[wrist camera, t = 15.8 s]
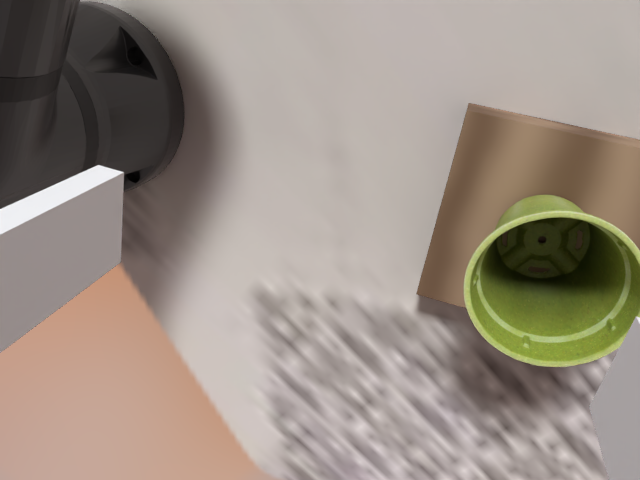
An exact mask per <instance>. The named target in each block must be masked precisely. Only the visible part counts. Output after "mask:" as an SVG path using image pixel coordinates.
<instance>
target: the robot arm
mask: <svg viewBox="0 0 640 480" xmlns="http://www.w3.org/2000/svg"><path fill="white" fill-rule="evenodd" d="M183 121H184V107H183V98H182V92H181V88H180V84H179V81H178V77H177V75H176V72H175V69H174V67H173V65H172V63H171V61H170V59H169V57H168V55H167V54H166V52H165V50H164V49H163V47H162V46H161V44H160V43H159V42H158V40H157V39H156V38H155V37H154V36H153V34H152V33H151V32H150V31H149V30H148V29H147V28H146V27H145V26H144V25H142V24H141V23H140V22H139V21H138V20H136V19H135V18H134V17H132V16H131V15H129V14H127V13H126V12H124V11H122V10H120V9H118V8H115V7H113V6H110V5H107V4H103V3H97V2H80V0H0V353H1V352H2V351H3V350H5V349H6V348H7V347H8V346H10V345H11V344H12V343H14V342H15V341H17V340H18V339H19V338H21V337H22V336H23V335H25V334H26V333H27V332H28V331H30V330H31V329H33V328H34V327H35V326H36V325H38V324H39V323H41V322H42V321H43V320H44V319H46V318H47V317H49V316H50V315H51V314H53V313H54V312H55V311H56V310H58V309H59V308H61V307H62V306H63V305H64V304H66V303H67V302H69V301H70V300H71V299H73V298H74V297H75V296H77V295H78V294H79V293H80V292H82V291H83V290H84V289H86V288H87V287H88V286H90V285H91V284H92V283H94V282H95V281H96V280H98V279H99V278H100V277H102V276H103V275H104V274H106V273H107V272H108V271H110V270H111V269H112V268H114V267H115V266H116V265H118V264H119V263H120V262H121V247H122V217H123V192H124V191H128V190H131V189H133V188H135V187H137V186H139V185H141V184H143V183H145V182H147V181H149V180H151V179H153V178H154V177H156V176H157V175H158V174H159V173H160V172H162V171H163V170H164V169H165V167H166V166H167V165H168V164H169V162H170V161H171V159H172V158H173V156H174V154H175V152H176V150H177V148H178V145H179V142H180V139H181V135H182V130H183ZM589 407H590V411H591V415H592V419H593V422H594V426H595V430H596V434H597V437H598V441H599V445H600V448H601V452H602V456H603V460H604V463H605V467H606V471H607V474H608V478H609V480H640V317H636V318H635V319H634V321H633V323H632V325H631V327H630V329H629V331H628V333H627V335H626V337H625V339H624V341H623V343H622V344H621V346H620V348H619V350H618V352H617V354H616V356H615V358H614V360H613V362H612V364H611V366H610V367H609V369H608V371H607V373H606V375H605V377H604V379H603V381H602V383H601V385H600V387H599V389H598V391H597V392H596V394H595V396H594V398H593V400H592V402H591V404H590V406H589Z"/></svg>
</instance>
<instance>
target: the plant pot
mask: <svg viewBox="0 0 640 480" xmlns="http://www.w3.org/2000/svg"><path fill="white" fill-rule="evenodd" d="M578 230H580V231H582V233H583V234H582V241H583V243H582V246H581V248H580V249H576V248H575V246H576V242H577V235H578V234H577V231H578ZM506 231H508V235H507V246H505V245H503V242H502V234H503V233H505V232H506ZM541 236H543V237H545V238H546V241H545V242H544V243H539V241H538V239H539V237H541ZM530 266H532V267H537V268H545V269H547V268H549V269H550V270H548V271H545V272H533V271H530V270H529V267H530ZM463 289H464V301H465V306H466V309H467V312H468V315H469V317H470V319H471V321H472V323H473V324H474V326H475V328H476V329H477V330H478V332H479V333H480V334H481V335H482V336H483V338H484V339H486V340H487V341H488V342H489V343H490V344H491V345H492V346H493V347H495V348H496V349H497V350H499V351H500V352H502V353H504V354H505V355H507V356H509V357H511V358H514V359H516V360H519V361H522V362H525V363H529V364H532V365H537V366H545V367H568V366H575V365H579V364H584V363H588V362H591V361H594V360H597V359H599V358H602V357H604V356H606V355H608V354H610V353H612V352H613V351H614V350H616V349H618V348H619V347H620V346H621V344H622V343H623V341H624V339H625V337H626V335H627V333H628V331H629V329H630V327H631V325H632V323H633V321H634V319H635V318H636V317H640V250H639V249H638V247H637V246H636V245H635V243H634V242H633V241H632V240H631V239H630V238H629V237H628V236H627V235H626V234H625V233H624V232H622V231H621V230H620V229H619V228H617V227H616V226H614V225H612V224H611V223H609V222H607V221H605V220H603V219H601V218H599V217H596V216H593V215H590V214H586V213H585V212H583V211H582V210H581V209H580V208H579V207H578V206H576V205H575V204H574V203H572V202H571V201H569V200H567V199H565V198H561V197H558V196H554V195H535V196H531V197H527V198H524V199H522V200H520V201H518V202H517V203H515V204H514V205H512V206H511V207H510V208H509V209H508V210H507V211H506V212H505V213H504V214H503V215H502V216H501V218H500V219H499V221H498V224H497V226H496V228H495V230H494V231H493V232H492V233H490V234H489V235H488V236H487V237H486V238H485V239H484V240H483V241H482V242H481V243H480V245H479V246H478V247H477V249H476V250H475V252H474V253H473V255H472V257H471V259H470V261H469V263H468V266H467V269H466V272H465V277H464V285H463Z"/></svg>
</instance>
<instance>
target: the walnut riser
mask: <svg viewBox="0 0 640 480" xmlns="http://www.w3.org/2000/svg"><path fill="white" fill-rule="evenodd" d="M535 195H554V196H558V197H561V198H565V199H567V200H569V201H571V202H572V203H574V204H575V205H576V206H578V207H579V208H580V209H581V210H582V211H583V212H585V213H586V214H590V215H593V216H596V217H599V218H601V219H603V220H605V221H607V222H609V223H611V224H612V225H614V226H616V227H617V228H619V229H620V230H621V231H622V232H624V233H625V234H626V235H627V236H628V237H629V238H630V239H631V240H632V241H633V242H634V243H635V245H636V246H637V247H638V249H639V250H640V140H638V139H633V138H629V137H624V136H619V135H615V134H610V133H605V132H601V131H596V130H592V129H587V128H582V127H578V126H573V125H568V124H564V123H559V122H554V121H550V120H545V119H541V118H536V117H531V116H527V115H522V114H517V113H513V112H508V111H503V110H499V109H494V108H490V107H485V106H480V105H476V104H471V103H469V105H468V108H467V112H466V115H465V119H464V123H463V126H462V130H461V134H460V137H459V141H458V145H457V148H456V152H455V155H454V159H453V163H452V166H451V170H450V174H449V177H448V181H447V184H446V188H445V192H444V195H443V199H442V203H441V206H440V210H439V214H438V217H437V221H436V224H435V228H434V232H433V235H432V239H431V243H430V246H429V250H428V254H427V257H426V261H425V264H424V268H423V272H422V275H421V279H420V283H419V286H418V290H417V294H418V295H421V296H425V297H428V298H432V299H435V300H439V301H442V302H446V303H449V304H453V305H456V306H460V307H464V308H466V306H465V301H464V289H463V285H464V277H465V272H466V269H467V266H468V263H469V261H470V259H471V257H472V255H473V253H474V252H475V250H476V249H477V247H478V246H479V245H480V243H481V242H482V241H483V240H484V239H485V238H486V237H487V236H488V235H489V234H490V233H492V232H493V231H494V230H495V228H496V226H497V224H498V221H499V219H500V218H501V216H502V215H503V214H504V213H505V212H506V211H507V210H508V209H509V208H510V207H511V206H512V205H514V204H515V203H517V202H518V201H520V200H522V199H524V198H527V197H531V196H535ZM577 234H578V235H577V242H576V246H575V248H576V249H580V248H581V246H582V243H583V241H582V234H583V233H582V231H580V230H578V231H577ZM507 235H508V231H506V232H505V233H503V234H502V242H503V245H505V246H507ZM538 241H539V243H544V242H545V241H546V238H545V237H543V236H541V237H539V239H538ZM529 270H530V271H533V272H545V271H548V270H550V269H549V268H547V269H545V268H537V267H532V266H530V267H529Z"/></svg>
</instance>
